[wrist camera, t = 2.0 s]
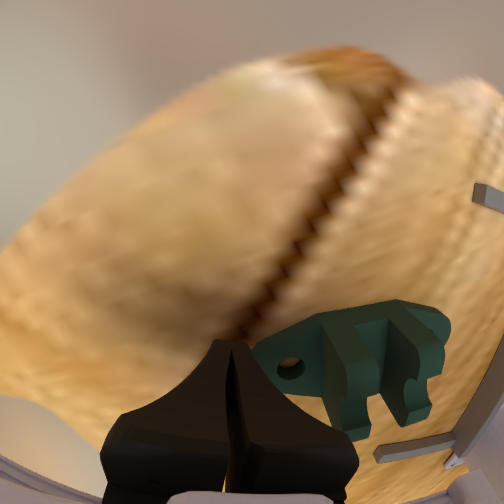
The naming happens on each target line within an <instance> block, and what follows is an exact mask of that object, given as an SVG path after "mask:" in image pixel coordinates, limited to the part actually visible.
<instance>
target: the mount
mask: <svg viewBox="0 0 504 504" xmlns="http://www.w3.org/2000/svg"><path fill="white" fill-rule="evenodd" d="M450 332H451V323H450V320H449V319H448V318H447V317H446V316H445V315H444V314H442V313H441V312H440V311H439V310H437V309H436V308H433V307H429V306H424V305H419V304H415V303H410V302H405V301H401V300H396V299H395V300H390V301H385V302H380V303H375V304H370V305H364V306H359V307H353V308H347V309H342V310H336V311H330V312H324V313H317V314H315V315H313V316H311V317H309V318H307V319H305V320H303V321H301V322H299V323H297V324H295V325H293V326H291V327H289V328H287V329H285V330H283V331H281V332H278V333H276V334H274V335H272V336H270V337H268V338H266V339H264V340H262V341H260V342H259V343H258V344H257V345H256V346H255V347H254V348H253V350H252V354H253V355H254V357H255V359H256V360H257V362H258V364H259V365H260V367H261V368H262V370H263V371H264V372H265V374H266V375H267V376H268V378H269V379H270V380H271V381H272V383H273V384H274V385H275V386H276V387H277V388H278V390H279V391H281V392H282V393H285V394H293V395H302V396H312V397H322V400H323V403H324V406H325V408H326V411H327V414H328V417H329V419H330V422H331V425H332V428H335V429H337V430H339V431H341V432H344V433H346V434H348V436H349V438H350V440H351V442H355V441H359V440H363V439H366V438H368V437H369V435H370V430H371V425H372V424H371V422H370V419H369V416H368V411H367V397H368V396H372V395H376V394H378V393H380V395H381V396H382V398H383V400H384V401H385V403H386V405H387V406H388V408H389V410H390V411H391V413H392V415H393V416H394V418H395V420H396V421H397V423H398V425H399V426H400V427H405V426H408V425H411V424H414V423H417V422H419V421H422V420H425V419H427V418H428V416H429V413H430V410H431V407H432V403H431V402H430V400H429V397H428V393H427V379H428V378H431V377H434V376H437V375H439V374H441V373H442V369H443V365H444V361H445V349H444V345H445V344H446V342H447V340H448V338H449V336H450ZM290 357H296V358H299V359H301V360H300V362H299V363H298V364H297V365H295V366H294V367H291V368H281V367H279V366H278V365H279V363H280V362H281V361H283V360H284V359H286V358H290Z"/></svg>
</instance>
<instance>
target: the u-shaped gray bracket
mask: <svg viewBox="0 0 504 504" xmlns="http://www.w3.org/2000/svg"><path fill="white" fill-rule="evenodd" d="M472 202H475V203H478V204H480V205H483V206H486V207H488V208H491V209H493V210H496V211H498V212H500V213H503V214H504V193H503V192H501V191H499V190H497V189H495V188H493V187H491V186H489V185H484V184H477V183H475V189H474V195H473V201H472ZM503 402H504V336H503V338H502V341H501V343H500V345H499V347H498V350H497V352H496V354H495V356H494V358H493V360H492V363H491V365H490V367H489V369H488V371H487V373H486V375H485V377H484V378H483V380H482V382H481V384H480V386H479V388H478V390H477V391H476V393H475V395H474V397H473V399H472V400H471V402H470V404H469V405H468V407H467V409H466V410H465V412H464V414H463V415H462V417H461V418H460V420H459V422H458V423H457V425H456V426H455V428H454V429H453V431H452V432H449V433H445V434H441V435H437V436H433V437H428V438H423V439H418V440H413V441H407V442H402V443H395V444H389V445H382V446H378V448H377V449H376V451H375V453H374V454H373V455H374V457H375V459H376V462H377V464H380V463H386V462H391V461H397V460H402V459H407V458H412V457H416V456H421V455H425V454H429V453H433V452H437V451H440V450H444V449H448V448H452V450H453V451H454V453H455V454H456V456H457V457H458V459H460V458H463V457H466V456H467V455H468V454H469V452H470V451H471V450H472V448H473V447H474V446H475V444H476V443H477V442H478V440H479V439H480V438H481V436H482V435H483V433H484V432H485V430H486V429H487V427H488V426H489V425H490V423H491V422H492V420H493V418H494V417H495V415H496V414H497V412H498V411H499V409H500V407H501V406H502V404H503Z"/></svg>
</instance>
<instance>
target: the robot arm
mask: <svg viewBox="0 0 504 504" xmlns="http://www.w3.org/2000/svg"><path fill="white" fill-rule="evenodd" d="M100 460H101V464H102V467H103V470H104V473H105V476H106V479H107V481H108V483H107V486H106V490H105V493H104V496H103V498H99V497H96V496H93V495H90V494H87V493H84V492H81V491H79V490H76V489H73V488H71V487H68V486H66V485H63V484H61V483H58V482H56V481H53V480H51V479H49V478H46V477H44V476H42V475H40V474H38V473H35V472H33V471H31V470H29V469H27V468H25V467H23V466H21V465H19V464H17V463H15V462H13V461H11V460H10V459H8V458H6V457H4V456H2V455H1V454H0V504H345V503H344V500H346V499H347V495H346V491H345V487H346V485H347V484H348V483H349V481H350V480H351V478H352V477H353V475H354V474H355V472H356V471H357V469H358V467H359V458H358V455H357V453H356V450H355V448H354V445H353V443H352V442H351V440H350V438H349V436H348V434H346V433H344V432H341V431H339V430H337V429H335V428H332V427H330V426H328V425H326V424H324V423H322V422H321V421H319V420H317V419H315V418H314V417H312V416H310V415H309V414H307V413H306V412H304V411H303V410H302V409H300V408H299V407H298V406H296V405H295V404H294V403H293V402H291V401H290V400H289V399H288V398H287V397H286V396H285V395H284V394H283V393H282V392H281V391H279V390H278V388H277V387H276V386H275V385H274V384H273V383H272V381H271V380H270V379H269V378H268V376H267V375H266V374H265V372H264V371H263V370H262V368H261V367H260V365H259V364H258V362H257V360H256V359H255V357H254V355H253V354H252V352H251V350H250V348H249V346H248V345H247V343H243V342H234V341H226V340H219V339H215V340H214V341H213V342H212V345H211V347H210V349H209V350H208V352H207V354H206V355H205V357H204V358H203V359H202V361H201V362H200V363H199V365H198V366H197V367H196V368H195V369H194V370H193V371H192V372H191V374H190V375H189V376H188V377H187V378H186V379H185V380H183V381H182V382H181V383H180V384H179V385H178V386H176V387H175V388H174V389H172V390H171V391H170V392H168V393H167V394H165V395H164V396H162V397H161V398H159V399H157V400H155V401H154V402H152V403H150V404H148V405H146V406H144V407H142V408H139V409H136V410H133V411H130V412H128V413H124V414H122V415H120V417H119V418H118V419H117V421H116V422H115V423H114V425H113V426H112V428H111V430H110V431H109V433H108V435H107V437H106V439H105V442H104V444H103V447H102V449H101V452H100ZM463 463H465V465H466V466H467V468H468V469H469V471H470V472H468V473H466V474H463V475H461V476H459V477H458V478H456V479H455V480H454V481H453V482H452V483H451V484H450V485H449V487H448V488H447V489H446V490H444V491H441V492H438V493H435V494H432V495H429V496H426V497H423V498H420V499H417V500H413V501H410V502H406V503H403V504H504V402H503V404H502V406H501V407H500V409H499V411H498V412H497V414H496V415H495V417H494V418H493V420H492V422H491V423H490V425H489V426H488V427H487V429H486V430H485V432H484V433H483V435H482V436H481V438H480V439H479V440H478V442H477V443H476V444H475V446H474V447H473V448H472V450H471V451H470V452H469V454H468V455H467V456H466V457H463V458H460V459H458V457H457V456H456V454H455V453H453V454H452V456H451V457H450V458H449V460H448V461H447V462H446V463H445V465H444V468H445V469H449V468H452V467H455V466H457V465H460V464H463ZM225 476H226V480H225ZM224 480H225V493H224V492H222V490H223V485H224Z"/></svg>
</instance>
